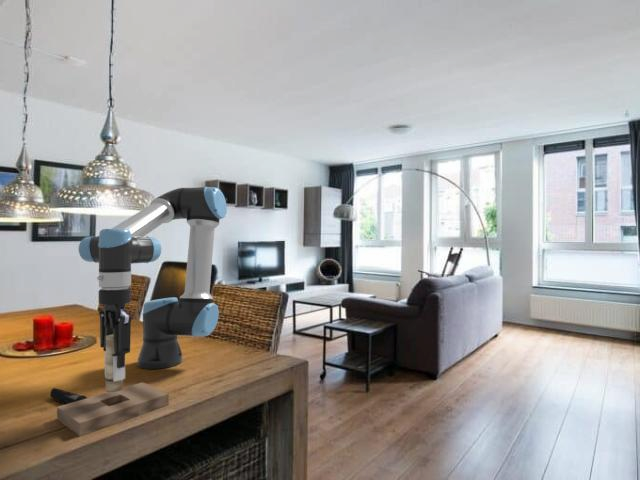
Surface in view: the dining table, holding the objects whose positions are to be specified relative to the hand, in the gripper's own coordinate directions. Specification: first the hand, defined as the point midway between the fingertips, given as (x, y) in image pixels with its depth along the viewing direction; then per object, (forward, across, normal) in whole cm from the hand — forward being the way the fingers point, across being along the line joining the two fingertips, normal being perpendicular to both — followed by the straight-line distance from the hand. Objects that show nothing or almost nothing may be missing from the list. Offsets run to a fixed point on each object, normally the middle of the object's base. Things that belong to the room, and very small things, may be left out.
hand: (114, 377), depth 104 cm
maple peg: (+3, 0, 0) cm, 3 cm away
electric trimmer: (+10, -16, -5) cm, 19 cm away
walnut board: (+9, 0, 0) cm, 9 cm away
